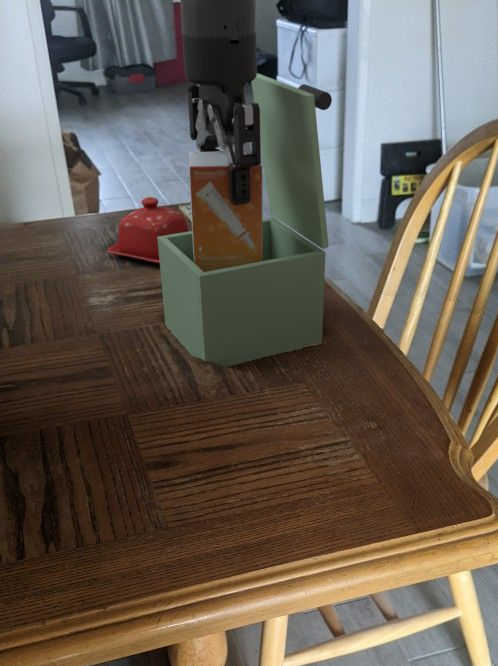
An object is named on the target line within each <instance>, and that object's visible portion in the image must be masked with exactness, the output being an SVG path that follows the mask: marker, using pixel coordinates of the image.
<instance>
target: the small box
mask: <svg viewBox="0 0 498 666" xmlns="http://www.w3.org/2000/svg"><path fill="white" fill-rule="evenodd" d="M251 153H252V150H251ZM234 154H235V150H234ZM229 169H230V168H229V165H228V161H227V157H226V153H225V151H224V150H220V151H213V152H200V151H189V152H188V172H189V173H188V174H189V175H188V177H189V196H190V197H189V198H190V199H189V200H190V214H191V215H190V216H191V217H190V219H191V231H192V237H193V253H194V263H195V264H196V265H197V266H198V267H199V268H200V269H201V270H202V271H203V272H208V271H213V270H219V269H224V268H229V267H235V266H240V265H245V264H250V263H256V262H261V261H262V219H263V162H261V163H260V165H257V166H253V167H250V202H249V203H247V204H241V205H234V204H232V203H231V202H230V196H229Z"/></svg>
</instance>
